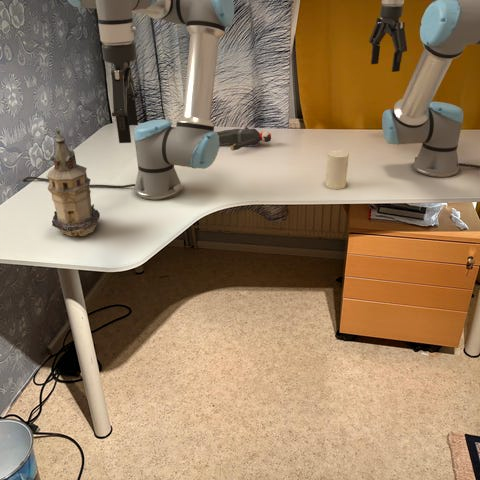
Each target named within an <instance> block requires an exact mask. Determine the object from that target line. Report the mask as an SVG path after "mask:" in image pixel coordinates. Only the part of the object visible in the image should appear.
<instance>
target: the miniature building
mask: <svg viewBox="0 0 480 480" xmlns="http://www.w3.org/2000/svg"><path fill="white" fill-rule="evenodd" d="M56 134H57V136H56V138H55V140H54V141H55V142H56V147H55V154H54V156H52V157H51V161H52V162H53V165H54V167H53V168H51V169H50V170H49V171H48V173H47V174H46V179H49V181H48V182H49V184H48V186H47V190H48V191H49V193H50V194H51V200H52V201H53V205H54V209H55V211H53V217H52V220H51V223H52V225H51V227H54V228H56V229H58V230H59V231H60V234H63V235H64V234H65V235H66V236H69V237H77V236H80V237H83V236H87V235H88V234H90V233H93V232H94V231H95V229H96V226H97V225H98V223H99V220H100V216H101V213H100V212H99V210H98V209H96V208H95V204H92V201H91V200H92V199H91V198H92V197H91V192H92V191H91V188H90V187H89V185H91V178H89V177H88V174H87V167H85V166H84V165H83V166H82V165H80V164H77V160H76V154H75V151H74V150H70V149H69V147H68V145H67V143H66V138H65V137H64V136H63V135H61V130H60V129H56Z"/></svg>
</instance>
